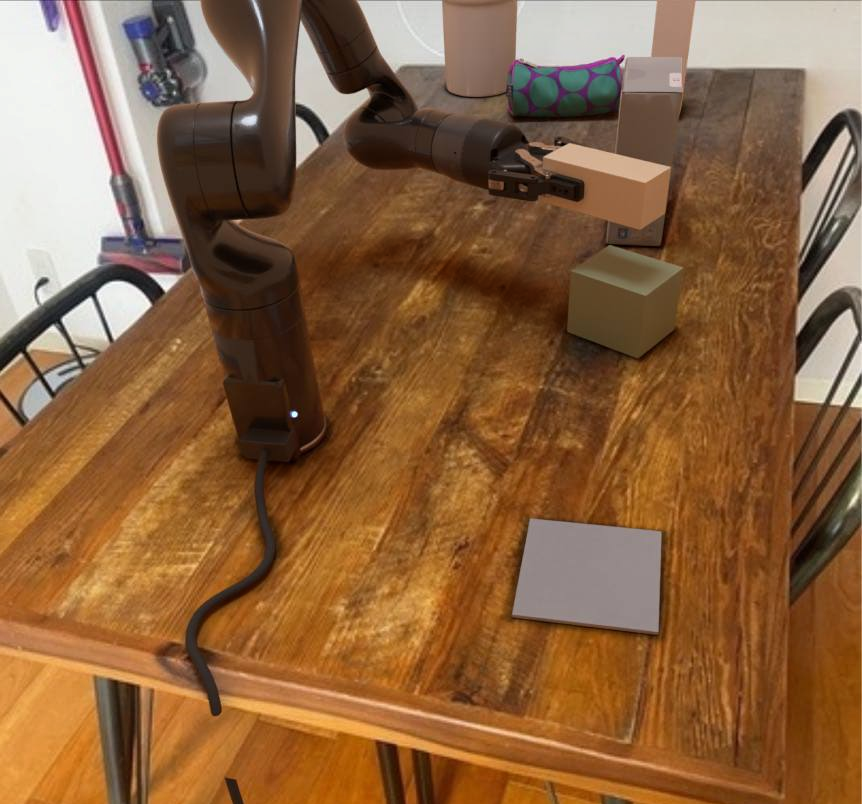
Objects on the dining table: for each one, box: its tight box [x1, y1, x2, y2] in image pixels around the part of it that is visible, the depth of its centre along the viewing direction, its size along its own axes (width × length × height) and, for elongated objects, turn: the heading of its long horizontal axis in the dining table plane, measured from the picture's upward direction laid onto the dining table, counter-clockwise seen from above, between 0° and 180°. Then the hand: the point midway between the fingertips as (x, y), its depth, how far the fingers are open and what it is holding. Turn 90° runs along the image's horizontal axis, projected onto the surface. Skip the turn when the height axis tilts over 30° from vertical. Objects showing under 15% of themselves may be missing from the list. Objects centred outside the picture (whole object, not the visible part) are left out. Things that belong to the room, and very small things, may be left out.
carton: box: [541, 143, 672, 230], centre depth 94 cm, size 13×5×5 cm, turn 48°
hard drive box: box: [605, 56, 684, 247], centre depth 117 cm, size 16×8×20 cm, turn 168°
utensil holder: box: [441, 0, 518, 98], centre depth 166 cm, size 15×15×18 cm
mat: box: [511, 517, 663, 636], centre depth 75 cm, size 12×12×1 cm
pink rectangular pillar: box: [650, 0, 696, 116], centre depth 148 cm, size 6×6×22 cm
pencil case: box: [505, 54, 626, 118], centre depth 155 cm, size 21×9×10 cm, turn 85°
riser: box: [566, 244, 685, 359], centre depth 101 cm, size 10×8×8 cm
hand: (596, 183), depth 94 cm, fingers closed on carton, 5 cm apart
